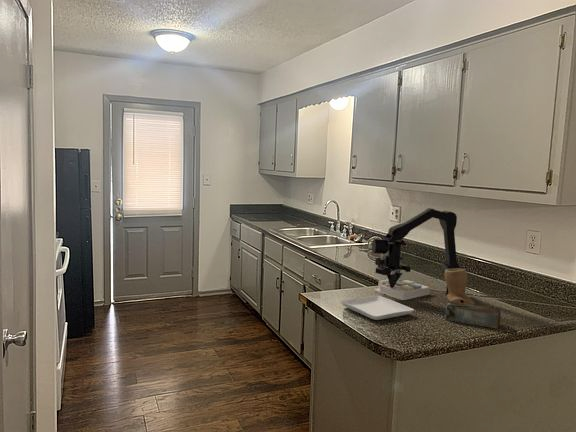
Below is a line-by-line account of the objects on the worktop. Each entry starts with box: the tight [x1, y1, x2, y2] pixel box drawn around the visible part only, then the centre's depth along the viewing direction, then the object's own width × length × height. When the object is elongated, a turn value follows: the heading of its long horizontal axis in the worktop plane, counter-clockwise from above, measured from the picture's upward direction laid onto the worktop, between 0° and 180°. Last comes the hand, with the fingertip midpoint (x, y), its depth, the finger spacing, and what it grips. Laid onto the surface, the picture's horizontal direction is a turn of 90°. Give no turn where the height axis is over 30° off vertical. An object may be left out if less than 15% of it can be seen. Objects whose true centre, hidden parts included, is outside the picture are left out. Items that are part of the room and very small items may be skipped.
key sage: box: [400, 279, 416, 285], centre depth 218 cm, size 4×4×2 cm
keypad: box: [373, 279, 431, 301], centre depth 214 cm, size 16×20×4 cm
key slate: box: [408, 283, 422, 289], centre depth 212 cm, size 4×4×2 cm
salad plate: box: [340, 294, 415, 321], centre depth 182 cm, size 21×21×3 cm
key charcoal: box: [395, 280, 407, 286], centre depth 214 cm, size 4×4×2 cm
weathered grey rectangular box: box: [445, 301, 501, 330], centre depth 176 cm, size 8×19×7 cm, turn 65°
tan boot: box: [443, 268, 475, 305], centre depth 202 cm, size 15×12×15 cm
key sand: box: [400, 285, 414, 291], centre depth 208 cm, size 4×4×2 cm
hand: (391, 287), depth 211 cm, fingers closed, pressing on key terracotta
